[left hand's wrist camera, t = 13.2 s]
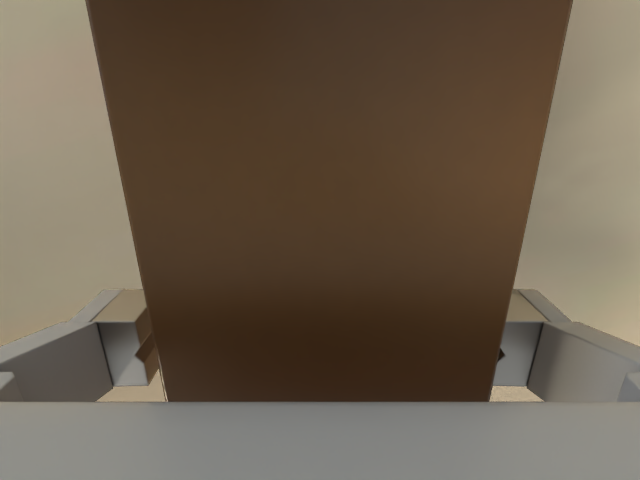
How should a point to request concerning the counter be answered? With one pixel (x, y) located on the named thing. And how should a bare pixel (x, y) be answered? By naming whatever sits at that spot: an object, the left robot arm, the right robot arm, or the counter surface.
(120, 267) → the counter surface
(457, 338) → the box
